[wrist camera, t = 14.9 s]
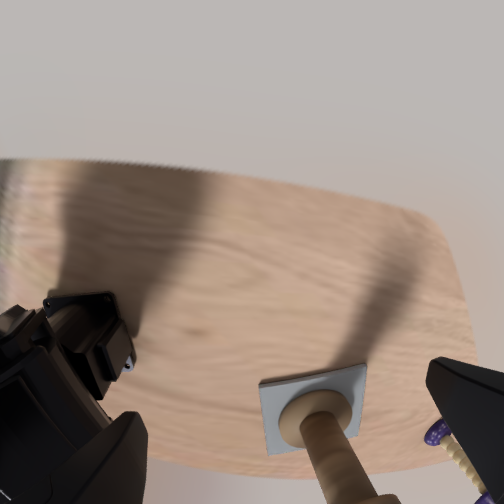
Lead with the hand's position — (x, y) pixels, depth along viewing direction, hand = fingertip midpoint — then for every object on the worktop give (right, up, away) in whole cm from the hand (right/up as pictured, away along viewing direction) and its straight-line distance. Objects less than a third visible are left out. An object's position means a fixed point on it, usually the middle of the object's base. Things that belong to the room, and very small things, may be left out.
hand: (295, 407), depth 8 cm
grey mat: (+4, -10, +16) cm, 19 cm away
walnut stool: (+4, -10, +15) cm, 19 cm away
